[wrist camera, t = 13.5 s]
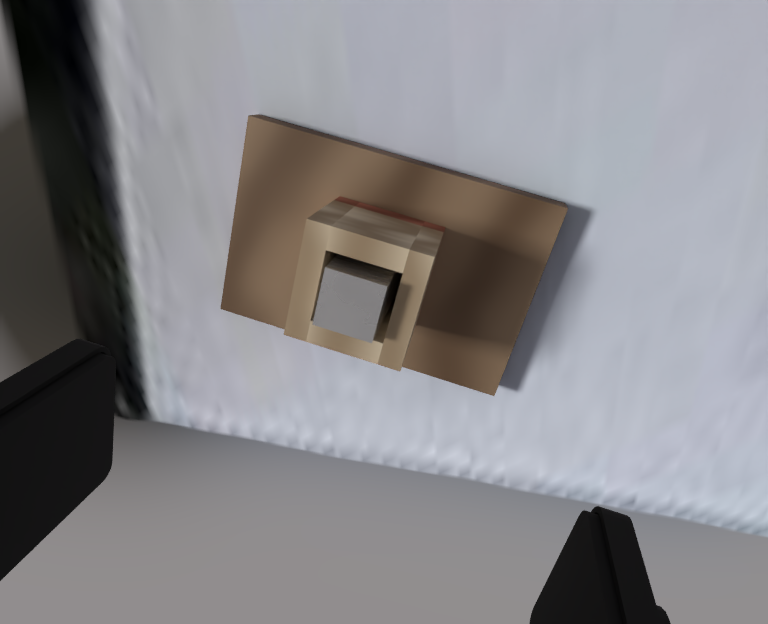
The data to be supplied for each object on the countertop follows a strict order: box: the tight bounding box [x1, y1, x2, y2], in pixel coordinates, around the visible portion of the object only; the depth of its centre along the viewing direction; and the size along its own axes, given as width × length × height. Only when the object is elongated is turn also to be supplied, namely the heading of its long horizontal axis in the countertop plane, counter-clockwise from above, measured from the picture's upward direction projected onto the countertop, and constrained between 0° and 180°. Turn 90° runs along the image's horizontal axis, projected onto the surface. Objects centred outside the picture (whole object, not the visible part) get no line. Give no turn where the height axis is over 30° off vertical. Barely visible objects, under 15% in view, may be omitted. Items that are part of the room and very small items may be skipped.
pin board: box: [221, 115, 568, 396], centre depth 33 cm, size 18×12×2 cm, turn 76°
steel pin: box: [312, 254, 402, 343], centre depth 29 cm, size 3×3×7 cm
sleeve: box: [284, 196, 446, 371], centre depth 30 cm, size 6×6×6 cm
